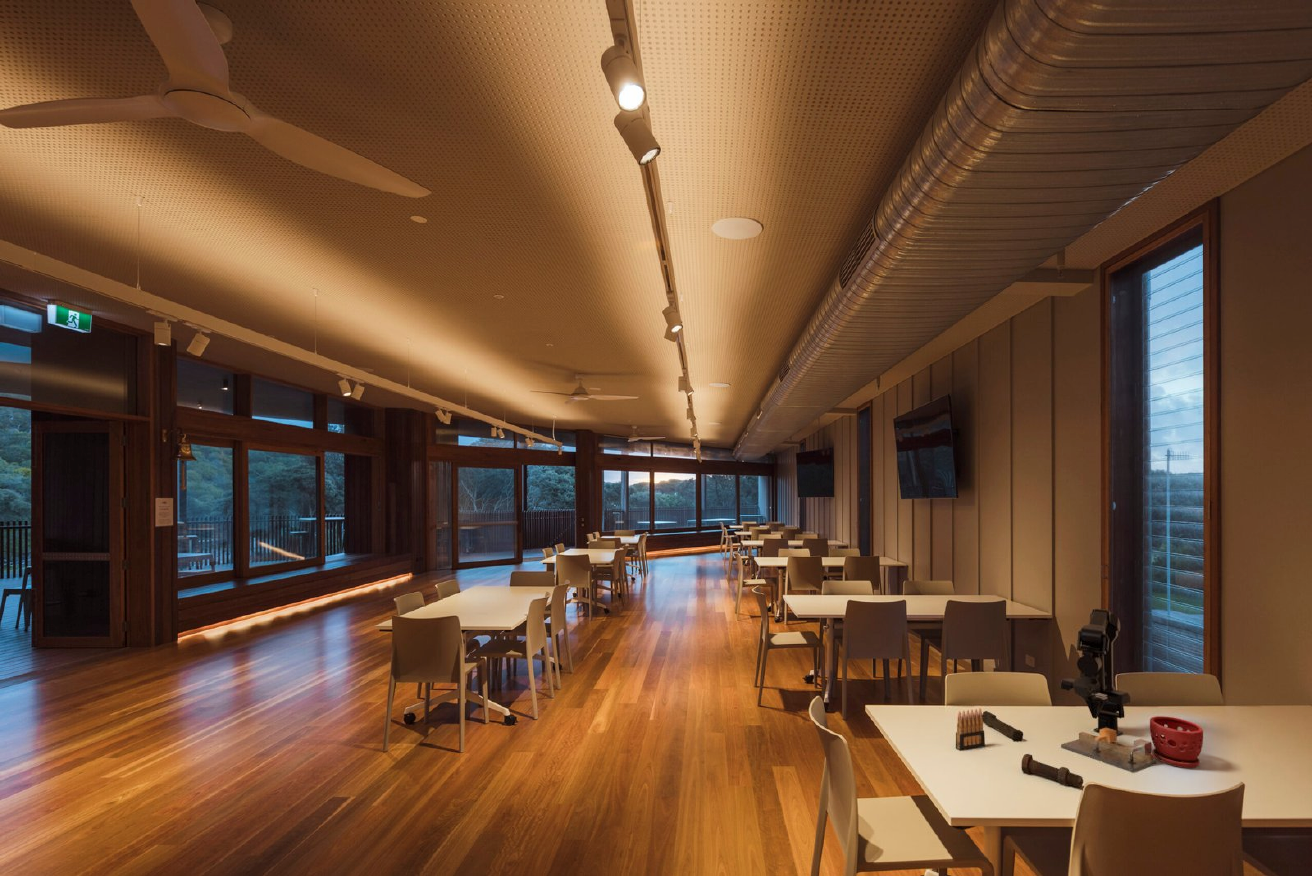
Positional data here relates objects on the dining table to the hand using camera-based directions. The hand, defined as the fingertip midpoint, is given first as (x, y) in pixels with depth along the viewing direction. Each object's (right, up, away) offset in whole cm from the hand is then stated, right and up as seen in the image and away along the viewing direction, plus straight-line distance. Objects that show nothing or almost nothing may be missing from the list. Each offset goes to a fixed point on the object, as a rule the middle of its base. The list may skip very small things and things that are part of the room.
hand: (1094, 718), depth 215 cm
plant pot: (+21, -11, -7) cm, 25 cm away
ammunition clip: (-39, -11, +2) cm, 40 cm away
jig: (+2, -11, -2) cm, 11 cm away
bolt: (-26, -10, -21) cm, 35 cm away
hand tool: (-22, -12, +17) cm, 30 cm away
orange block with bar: (+3, -10, 0) cm, 10 cm away
